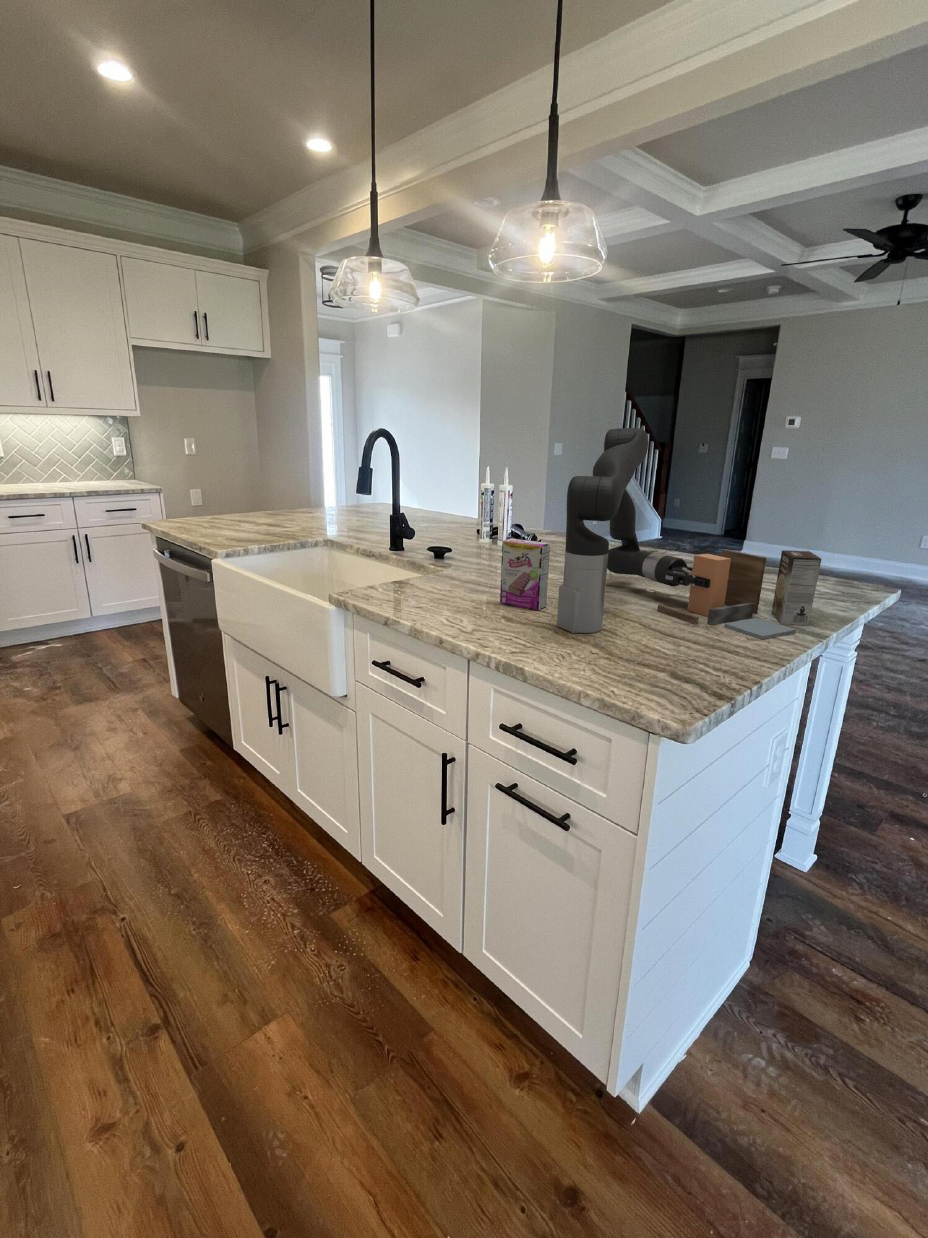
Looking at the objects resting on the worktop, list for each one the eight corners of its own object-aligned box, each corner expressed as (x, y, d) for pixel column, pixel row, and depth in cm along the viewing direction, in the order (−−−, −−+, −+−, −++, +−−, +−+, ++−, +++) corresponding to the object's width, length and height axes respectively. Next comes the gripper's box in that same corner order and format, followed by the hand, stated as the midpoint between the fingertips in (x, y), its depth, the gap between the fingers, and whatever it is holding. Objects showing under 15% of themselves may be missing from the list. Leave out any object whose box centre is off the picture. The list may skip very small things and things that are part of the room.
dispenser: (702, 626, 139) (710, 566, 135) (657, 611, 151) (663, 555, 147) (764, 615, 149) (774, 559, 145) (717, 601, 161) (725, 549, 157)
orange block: (709, 617, 146) (717, 560, 142) (687, 610, 152) (694, 554, 148) (722, 615, 148) (730, 558, 144) (700, 608, 154) (707, 553, 150)
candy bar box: (498, 604, 155) (501, 540, 150) (508, 600, 159) (510, 537, 154) (538, 611, 149) (542, 545, 144) (547, 607, 153) (551, 542, 148)
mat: (762, 639, 131) (763, 636, 130) (724, 626, 139) (724, 623, 139) (795, 633, 135) (796, 629, 135) (756, 621, 144) (757, 617, 144)
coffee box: (769, 613, 151) (780, 549, 146) (797, 615, 149) (809, 550, 145) (780, 624, 142) (792, 556, 137) (810, 626, 141) (823, 557, 136)
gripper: (645, 557, 156) (697, 570, 142) (685, 553, 163) (739, 565, 148) (642, 585, 159) (693, 601, 144) (682, 580, 165) (734, 595, 150)
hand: (716, 582), depth 146 cm, fingers closed on orange block, 4 cm apart
